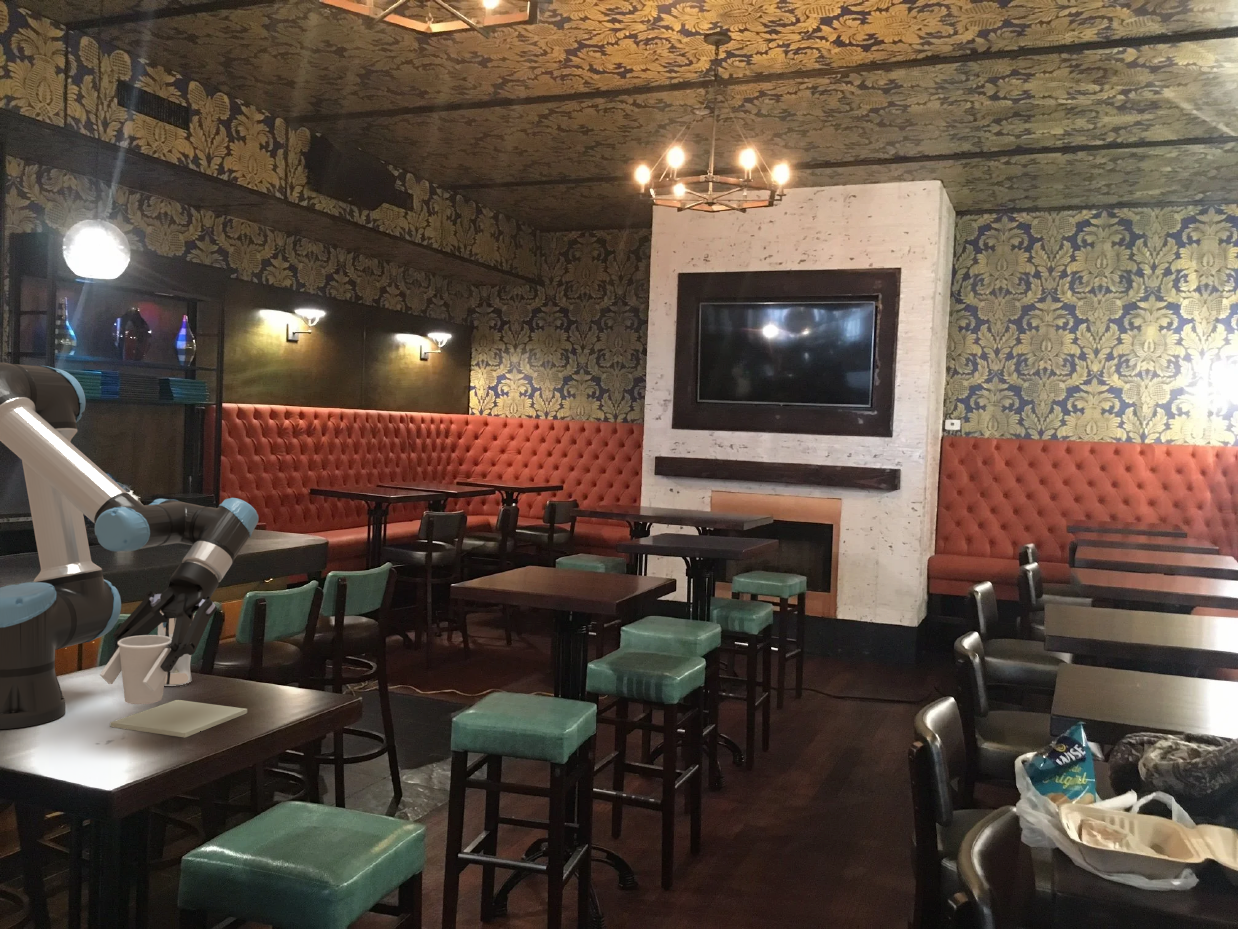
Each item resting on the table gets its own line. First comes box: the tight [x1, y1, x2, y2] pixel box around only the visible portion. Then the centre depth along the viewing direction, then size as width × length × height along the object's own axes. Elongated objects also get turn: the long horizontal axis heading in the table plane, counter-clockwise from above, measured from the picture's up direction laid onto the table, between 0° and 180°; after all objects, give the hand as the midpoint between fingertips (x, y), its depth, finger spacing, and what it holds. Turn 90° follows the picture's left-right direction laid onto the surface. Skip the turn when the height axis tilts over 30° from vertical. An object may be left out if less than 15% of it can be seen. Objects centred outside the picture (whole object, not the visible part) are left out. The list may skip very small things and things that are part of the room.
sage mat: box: [109, 699, 248, 738], centre depth 179 cm, size 16×16×1 cm
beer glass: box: [157, 610, 195, 686], centre depth 203 cm, size 7×7×15 cm
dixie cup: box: [117, 634, 172, 705], centre depth 165 cm, size 8×8×10 cm
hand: (127, 683), depth 162 cm, fingers closed on dixie cup, 8 cm apart
